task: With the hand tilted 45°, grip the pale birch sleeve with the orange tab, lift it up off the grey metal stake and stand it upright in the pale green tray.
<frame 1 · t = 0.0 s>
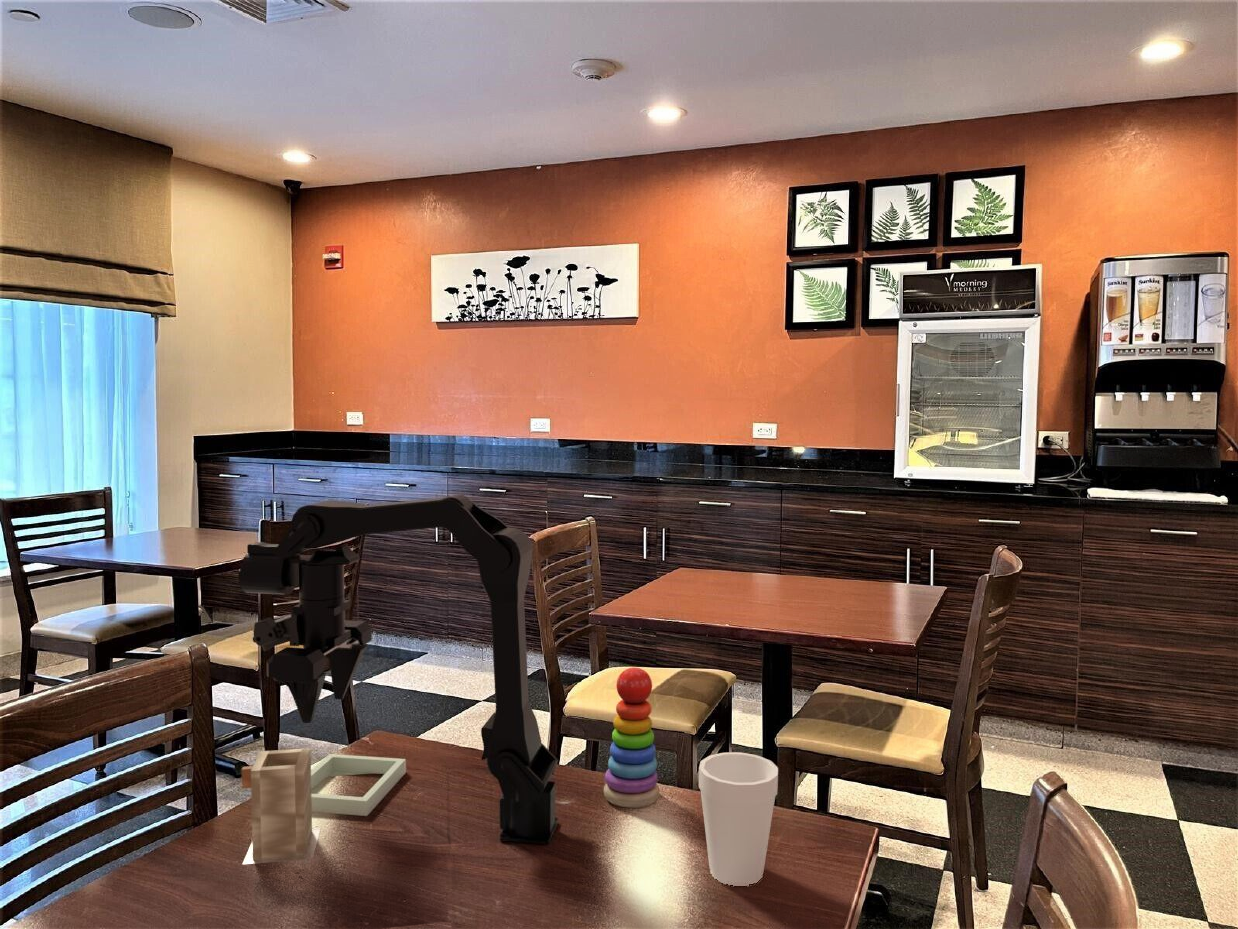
hand: (323, 710, 120), 15 cm above the table, tool pointing down, fingers open, 9 cm apart
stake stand: (283, 852, 111), on the table
green tray: (347, 796, 127), on the table
foam cup: (736, 874, 108), on the table
birch sleeve: (283, 845, 111), point 1 cm above the table, touching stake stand
stacking toy: (631, 799, 128), on the table
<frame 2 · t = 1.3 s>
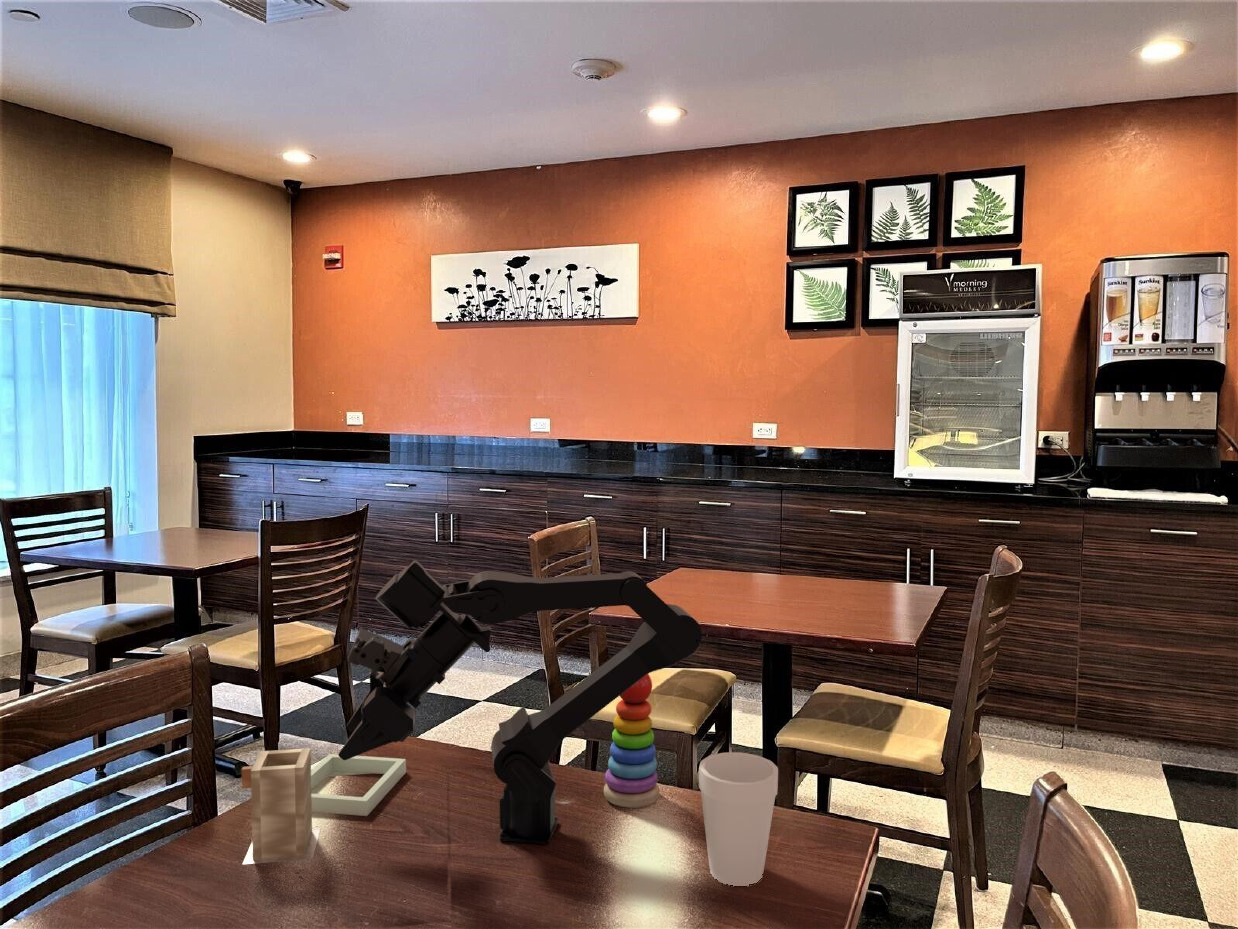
hand: (345, 743, 112), 14 cm above the table, tool tilted 45°, fingers open, 9 cm apart
nothing on the table moved.
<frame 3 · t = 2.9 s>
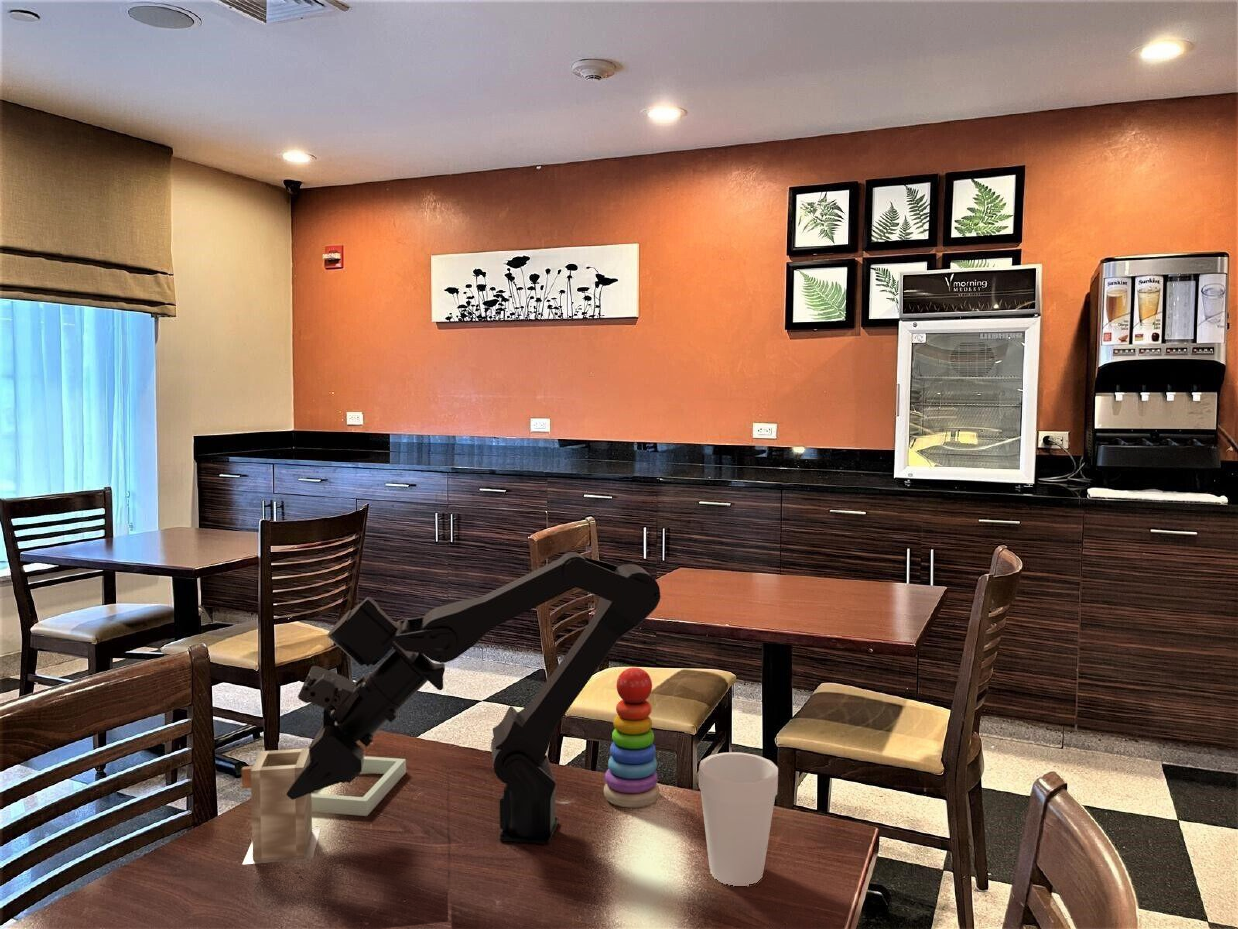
hand: (295, 780, 111), 9 cm above the table, tool tilted 45°, fingers open, 9 cm apart
nothing on the table moved.
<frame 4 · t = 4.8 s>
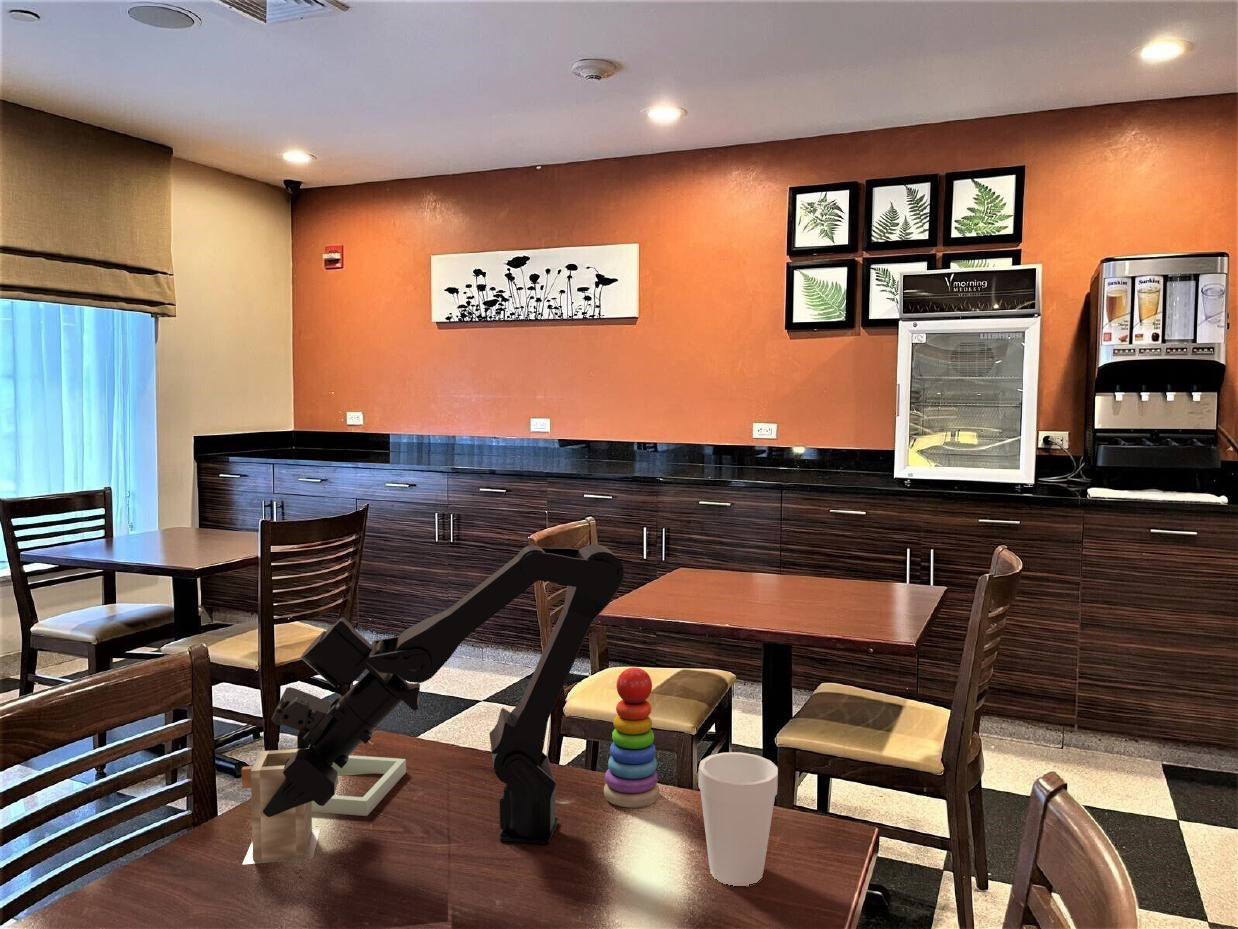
hand: (270, 802, 111), 7 cm above the table, tool tilted 45°, fingers closed on birch sleeve, 6 cm apart
birch sleeve: (283, 845, 111), point 1 cm above the table, touching gripper, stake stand
everything else where it was.
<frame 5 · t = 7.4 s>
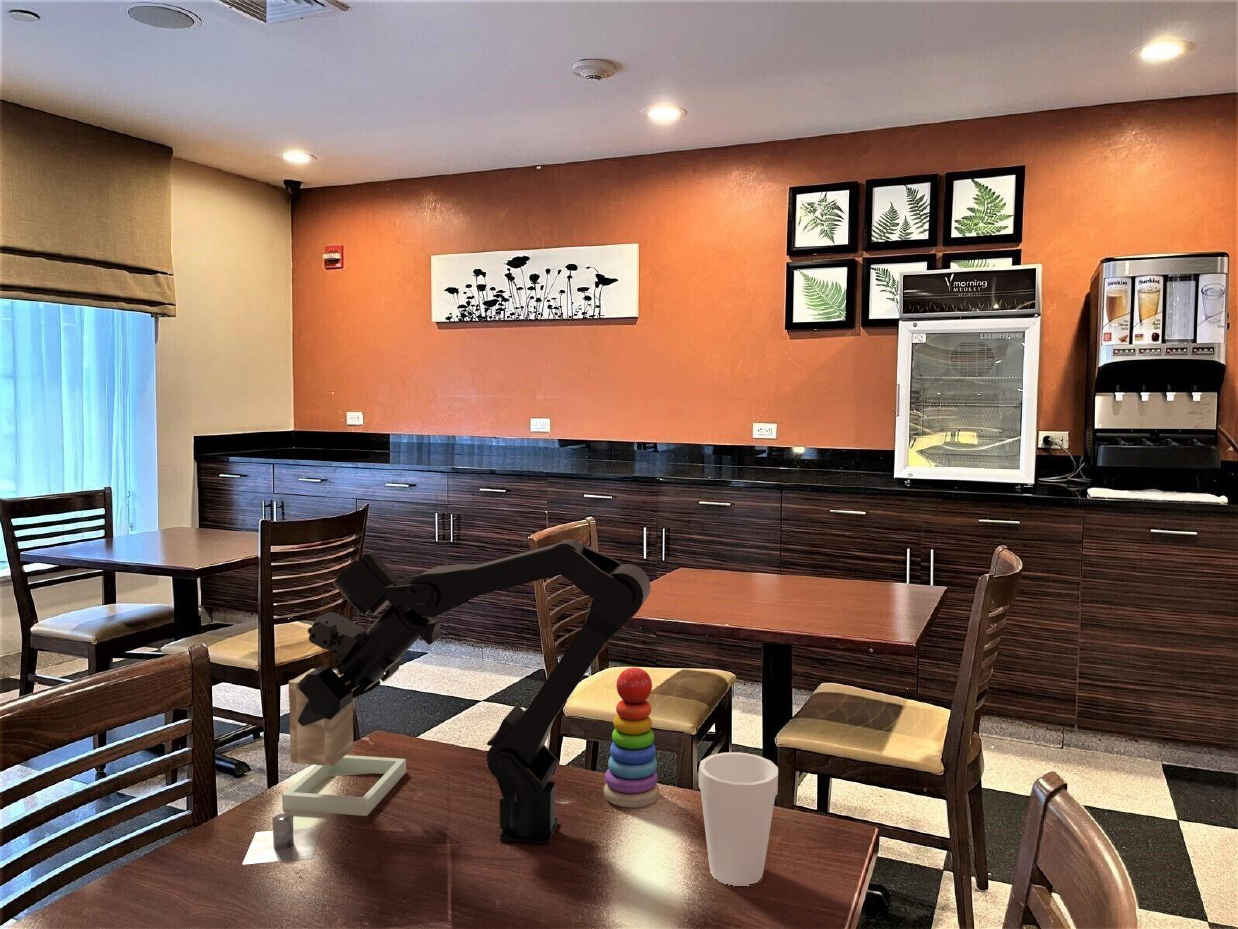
hand: (312, 715, 122), 13 cm above the table, tool tilted 45°, fingers closed on birch sleeve, 6 cm apart
birch sleeve: (322, 755, 122), point 8 cm above the table, touching gripper
everything else where it was.
when the fingers open (8 cm above the table, at t = 10.1 s): birch sleeve drops 1 cm, resting on green tray.
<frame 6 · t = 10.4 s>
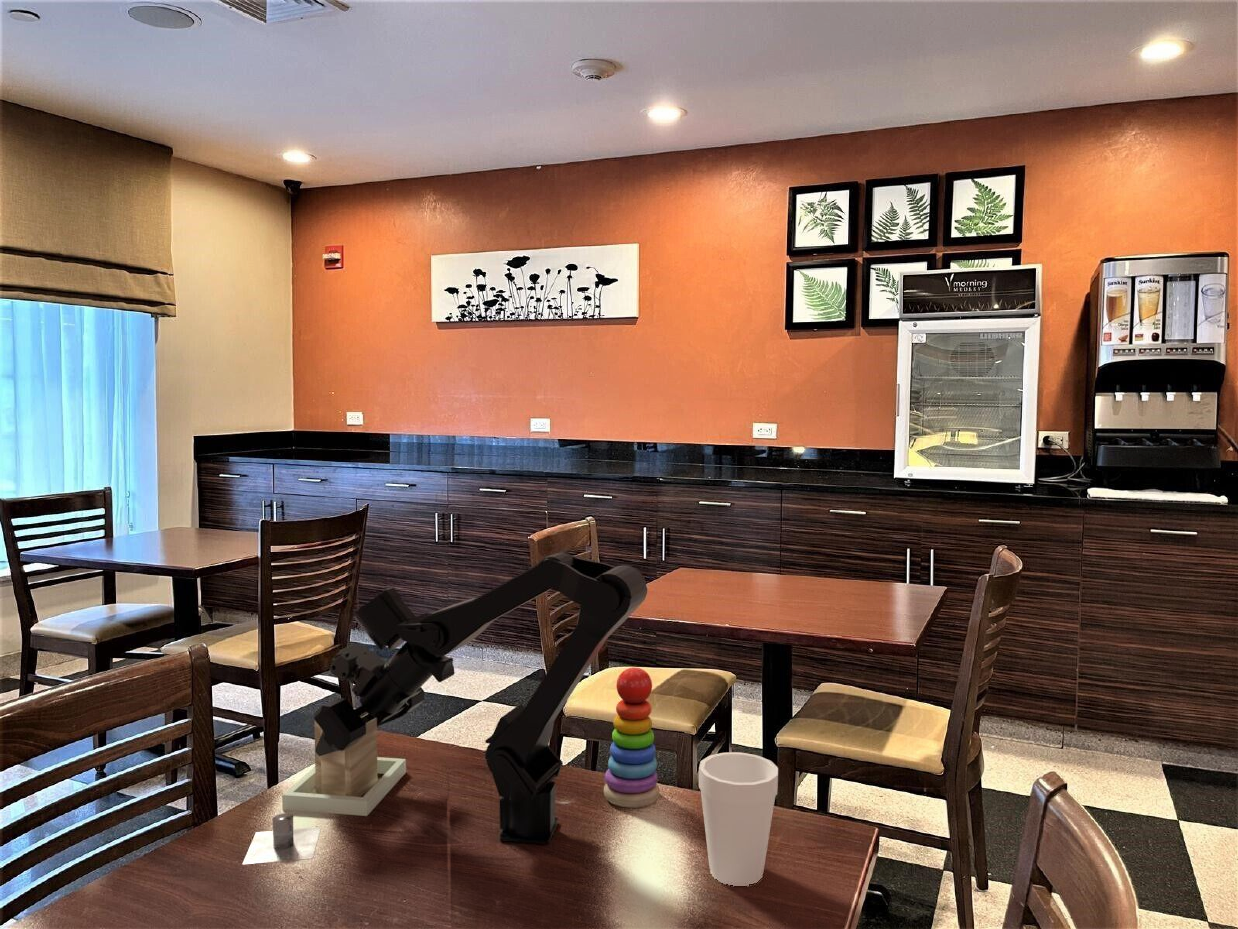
hand: (338, 741, 127), 8 cm above the table, tool tilted 45°, fingers open, 9 cm apart
birch sleeve: (347, 791, 127), point 1 cm above the table, touching green tray
everything else where it was.
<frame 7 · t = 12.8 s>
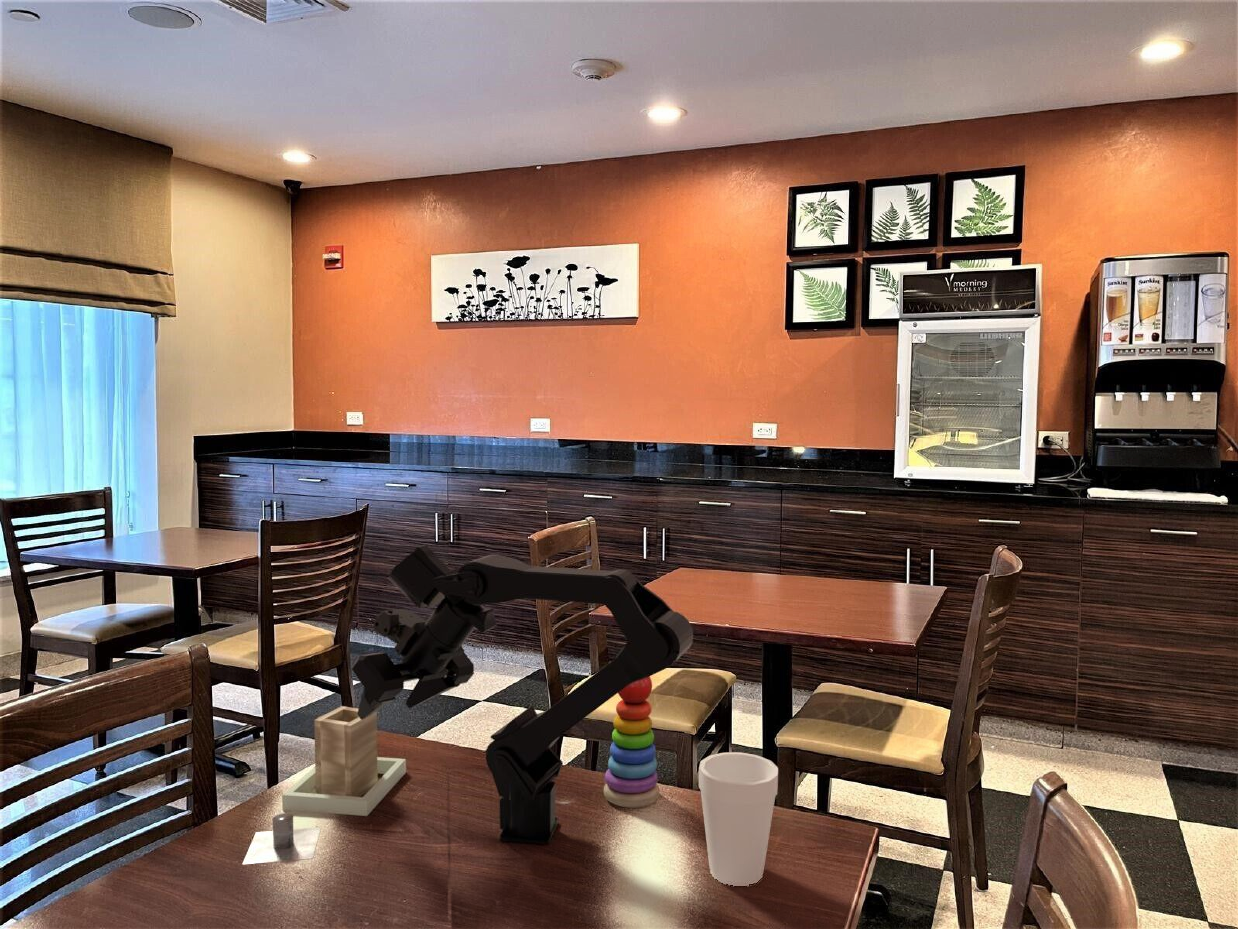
hand: (384, 711, 124), 13 cm above the table, tool tilted 40°, fingers open, 9 cm apart
nothing on the table moved.
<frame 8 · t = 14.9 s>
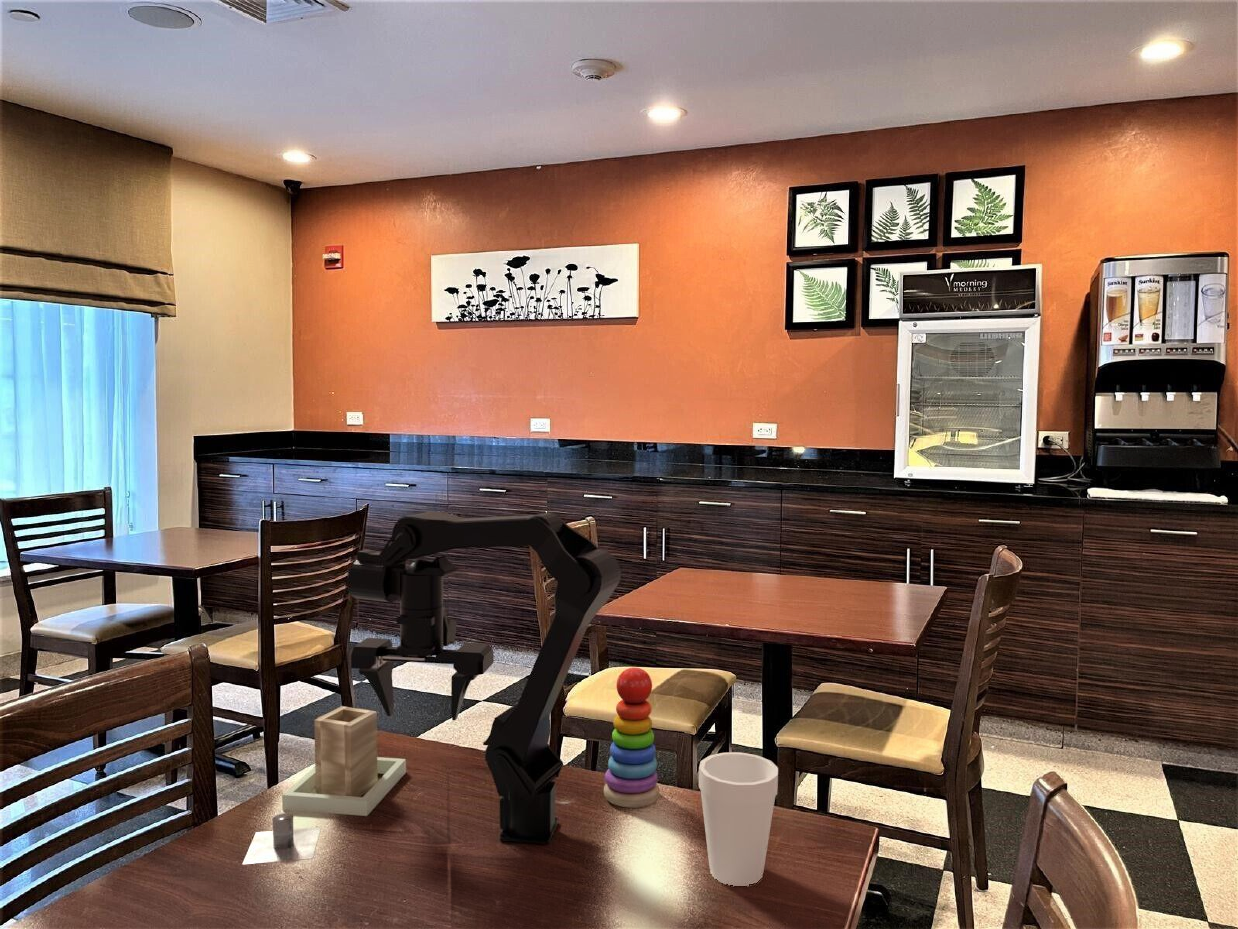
hand: (422, 717, 123), 13 cm above the table, tool pointing down, fingers open, 9 cm apart
nothing on the table moved.
at the end: birch sleeve inside the target area on the green tray (0.0 cm from its centre), point 0.8 cm above the green tray's base; birch sleeve tilted 0°; the gripper is holding nothing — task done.
